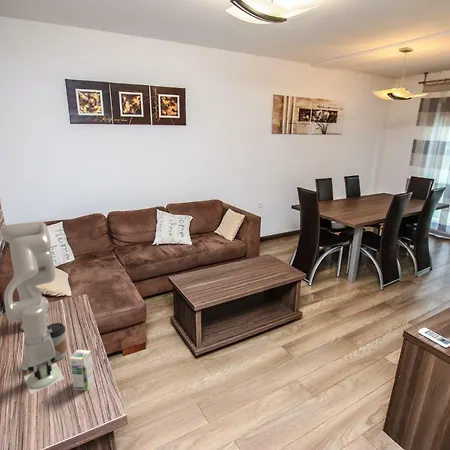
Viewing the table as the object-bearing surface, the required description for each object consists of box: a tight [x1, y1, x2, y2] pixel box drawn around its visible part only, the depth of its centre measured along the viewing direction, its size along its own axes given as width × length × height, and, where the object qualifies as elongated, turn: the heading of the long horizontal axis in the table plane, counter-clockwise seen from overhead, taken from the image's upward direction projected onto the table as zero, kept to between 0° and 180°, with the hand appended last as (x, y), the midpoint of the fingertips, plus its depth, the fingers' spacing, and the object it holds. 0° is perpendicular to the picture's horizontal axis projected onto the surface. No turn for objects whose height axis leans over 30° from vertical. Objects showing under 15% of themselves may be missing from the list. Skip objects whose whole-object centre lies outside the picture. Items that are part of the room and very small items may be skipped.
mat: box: [23, 362, 65, 396], centre depth 123 cm, size 12×12×1 cm
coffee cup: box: [47, 322, 67, 362], centre depth 134 cm, size 8×8×15 cm
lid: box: [28, 362, 60, 388], centre depth 123 cm, size 11×11×6 cm
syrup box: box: [69, 349, 95, 391], centre depth 119 cm, size 6×6×14 cm
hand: (43, 374), depth 123 cm, fingers closed on lid, 3 cm apart
